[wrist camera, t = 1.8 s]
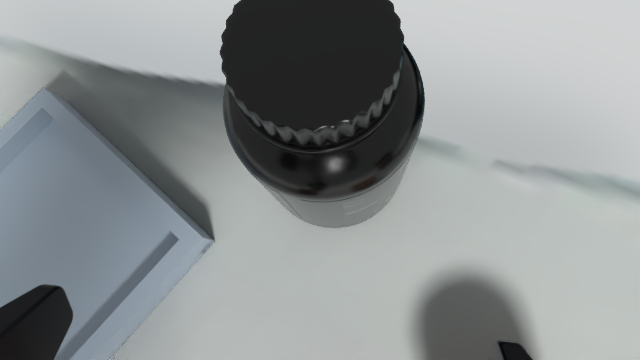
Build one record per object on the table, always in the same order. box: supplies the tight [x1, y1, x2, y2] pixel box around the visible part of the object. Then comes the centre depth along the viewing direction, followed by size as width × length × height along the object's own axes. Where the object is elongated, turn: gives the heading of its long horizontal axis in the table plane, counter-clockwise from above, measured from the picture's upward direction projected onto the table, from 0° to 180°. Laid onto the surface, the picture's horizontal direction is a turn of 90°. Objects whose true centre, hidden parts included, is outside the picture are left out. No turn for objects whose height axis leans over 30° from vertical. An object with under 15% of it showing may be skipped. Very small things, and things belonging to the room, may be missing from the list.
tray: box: [0, 87, 215, 360], centre depth 22 cm, size 12×12×2 cm
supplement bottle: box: [220, 0, 425, 228], centre depth 17 cm, size 7×7×12 cm
